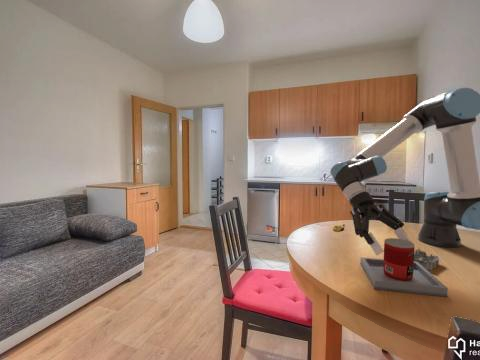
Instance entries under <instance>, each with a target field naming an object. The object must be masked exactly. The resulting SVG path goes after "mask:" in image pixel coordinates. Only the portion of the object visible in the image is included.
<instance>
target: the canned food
mask: <svg viewBox="0 0 480 360" xmlns="http://www.w3.org/2000/svg"><path fill="white" fill-rule="evenodd" d="M383 242H384V244H383V250H384V251H383V259H384V267H383V271H384V273H385V275H386V276H388V277H390V278H392V279H396V280H400V281H409V280H412V278H413V268H414V253H415V243H414V242H410V241H407V240H403V239H399V238H398V237H397V238H395V237H394V238H393V237H392V238H391V237H390V238H389V237H388V238H385V239H384V241H383Z"/></svg>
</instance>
